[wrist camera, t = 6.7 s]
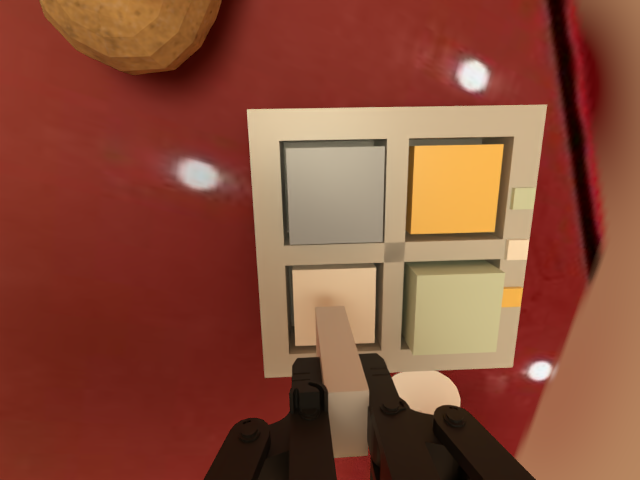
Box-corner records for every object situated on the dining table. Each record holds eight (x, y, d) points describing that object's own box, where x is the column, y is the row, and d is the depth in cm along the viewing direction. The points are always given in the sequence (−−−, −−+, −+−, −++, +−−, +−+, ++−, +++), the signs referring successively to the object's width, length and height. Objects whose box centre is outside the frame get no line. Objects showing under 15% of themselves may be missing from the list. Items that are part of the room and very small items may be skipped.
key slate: (291, 233, 21) (289, 244, 19) (288, 148, 20) (285, 148, 18) (373, 231, 22) (382, 242, 19) (374, 146, 20) (385, 146, 18)
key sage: (401, 333, 23) (413, 355, 21) (404, 261, 22) (417, 275, 20) (475, 330, 24) (496, 352, 21) (482, 258, 22) (505, 272, 20)
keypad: (271, 335, 27) (264, 380, 22) (259, 118, 23) (245, 108, 18) (475, 328, 28) (515, 370, 23) (496, 114, 24) (550, 104, 19)
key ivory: (296, 326, 25) (295, 346, 22) (293, 257, 23) (292, 270, 21) (367, 323, 25) (374, 342, 22) (368, 255, 24) (376, 267, 21)
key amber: (399, 225, 23) (410, 234, 21) (402, 146, 22) (414, 146, 19) (474, 223, 23) (494, 231, 21) (481, 144, 22) (503, 144, 20)
